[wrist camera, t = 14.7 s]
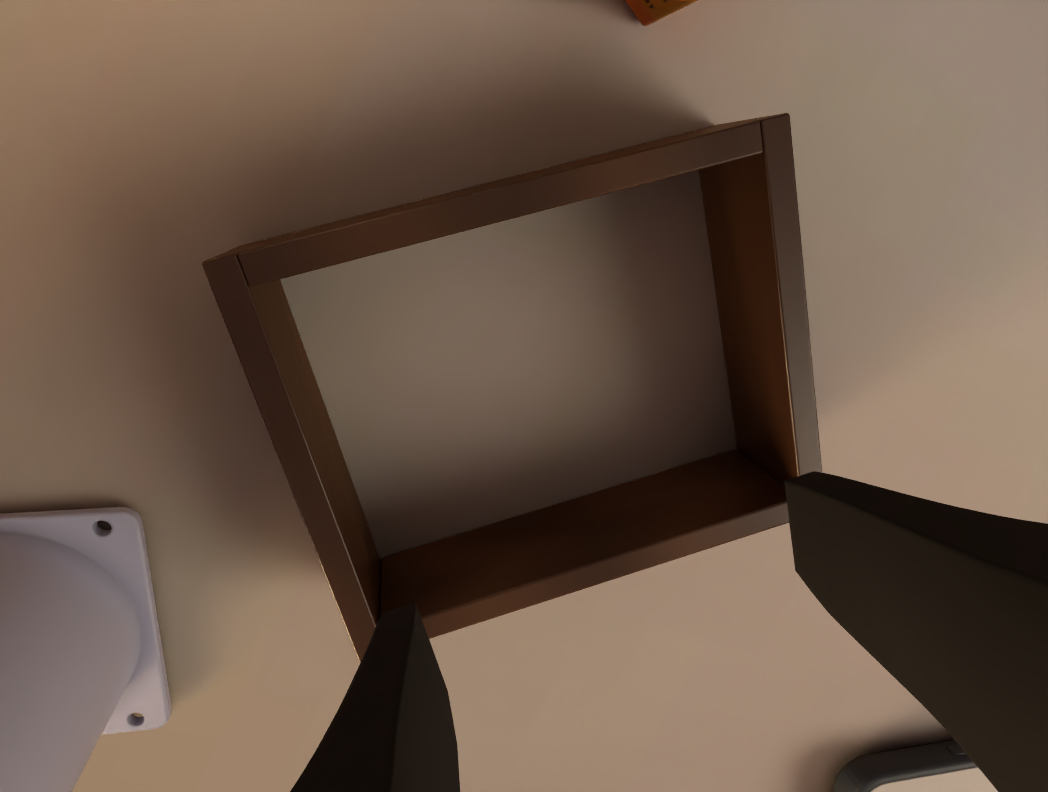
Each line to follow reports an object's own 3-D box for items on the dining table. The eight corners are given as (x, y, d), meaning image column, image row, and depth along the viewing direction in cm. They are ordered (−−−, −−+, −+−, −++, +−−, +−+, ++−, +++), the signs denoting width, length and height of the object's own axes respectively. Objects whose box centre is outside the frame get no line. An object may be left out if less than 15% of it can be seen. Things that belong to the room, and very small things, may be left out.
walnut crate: (363, 584, 23) (359, 662, 19) (237, 246, 19) (200, 262, 15) (759, 461, 25) (826, 511, 21) (717, 124, 21) (790, 112, 17)
